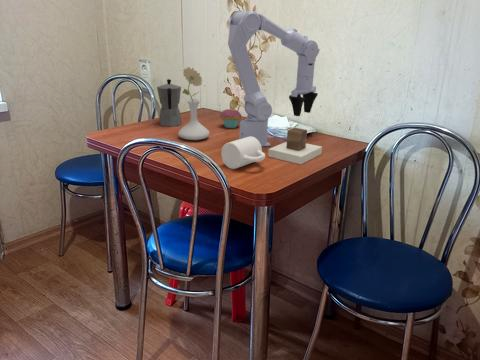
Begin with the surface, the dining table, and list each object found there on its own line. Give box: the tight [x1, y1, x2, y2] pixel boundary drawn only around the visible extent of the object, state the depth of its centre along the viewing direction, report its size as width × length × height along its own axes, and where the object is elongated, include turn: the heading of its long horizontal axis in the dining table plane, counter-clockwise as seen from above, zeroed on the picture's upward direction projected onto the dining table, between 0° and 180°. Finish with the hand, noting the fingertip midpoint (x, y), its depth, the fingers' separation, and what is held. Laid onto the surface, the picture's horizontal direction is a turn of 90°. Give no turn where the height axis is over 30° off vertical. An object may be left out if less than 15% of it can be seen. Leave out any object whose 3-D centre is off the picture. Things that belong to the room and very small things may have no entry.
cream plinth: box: [267, 141, 323, 166], centre depth 138 cm, size 14×12×2 cm
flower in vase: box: [177, 66, 211, 141], centre depth 150 cm, size 13×11×25 cm
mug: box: [220, 136, 266, 170], centre depth 126 cm, size 12×10×8 cm
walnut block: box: [286, 127, 308, 151], centre depth 137 cm, size 5×5×6 cm
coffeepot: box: [156, 78, 183, 128], centre depth 168 cm, size 15×9×18 cm, turn 9°
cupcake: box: [219, 99, 242, 129], centre depth 169 cm, size 9×8×12 cm
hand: (302, 114), depth 153 cm, fingers open, 7 cm apart
